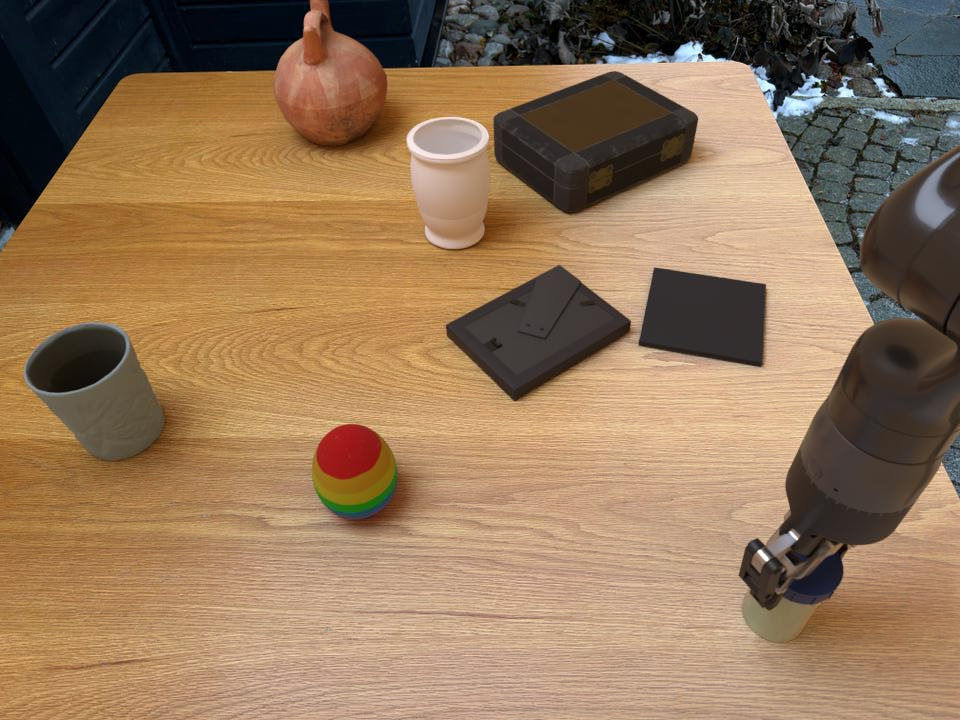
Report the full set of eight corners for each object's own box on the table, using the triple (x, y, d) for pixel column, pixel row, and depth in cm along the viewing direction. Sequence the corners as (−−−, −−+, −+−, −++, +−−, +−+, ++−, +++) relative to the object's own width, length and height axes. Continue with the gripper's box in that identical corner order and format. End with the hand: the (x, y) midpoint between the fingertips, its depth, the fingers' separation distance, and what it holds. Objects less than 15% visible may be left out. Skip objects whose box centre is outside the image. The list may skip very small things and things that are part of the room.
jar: (402, 239, 105) (389, 143, 94) (446, 202, 110) (438, 108, 99) (464, 265, 100) (457, 167, 89) (506, 225, 106) (505, 129, 95)
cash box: (609, 109, 127) (613, 65, 122) (695, 160, 115) (704, 114, 110) (488, 157, 118) (486, 111, 113) (567, 218, 106) (570, 171, 101)
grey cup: (181, 440, 81) (141, 366, 73) (86, 483, 78) (31, 410, 69) (155, 383, 87) (115, 307, 79) (66, 420, 84) (14, 346, 75)
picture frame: (558, 276, 98) (446, 335, 91) (558, 262, 96) (445, 322, 89) (629, 332, 90) (514, 401, 83) (632, 318, 89) (514, 388, 82)
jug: (386, 156, 120) (368, 30, 105) (275, 159, 120) (241, 35, 106) (396, 100, 132) (381, -19, 118) (295, 103, 133) (268, -15, 118)
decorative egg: (323, 465, 78) (304, 404, 71) (401, 459, 79) (389, 397, 71) (317, 534, 73) (295, 475, 65) (401, 527, 73) (388, 468, 66)
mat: (764, 288, 95) (766, 283, 94) (760, 367, 86) (762, 362, 85) (653, 271, 98) (654, 267, 97) (638, 345, 89) (639, 341, 88)
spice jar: (802, 593, 67) (835, 539, 60) (804, 649, 63) (838, 599, 57) (742, 580, 68) (767, 526, 61) (740, 634, 64) (767, 583, 58)
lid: (787, 614, 57) (792, 606, 56) (746, 549, 61) (750, 539, 60) (852, 591, 58) (859, 582, 57) (808, 528, 62) (814, 518, 61)
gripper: (826, 557, 44) (758, 665, 56) (988, 455, 48) (891, 576, 61) (737, 466, 48) (692, 584, 61) (892, 380, 53) (821, 507, 65)
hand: (792, 579), depth 61 cm, fingers closed on lid, 5 cm apart
